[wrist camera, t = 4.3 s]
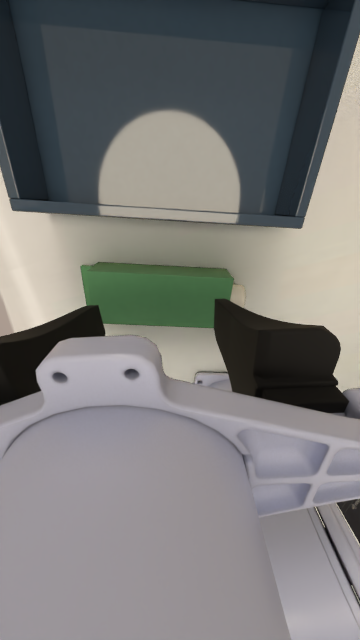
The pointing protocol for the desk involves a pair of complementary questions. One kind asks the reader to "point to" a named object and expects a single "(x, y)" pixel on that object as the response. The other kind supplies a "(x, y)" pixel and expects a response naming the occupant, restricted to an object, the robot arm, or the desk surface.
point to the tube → (158, 293)
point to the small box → (352, 514)
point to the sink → (171, 106)
